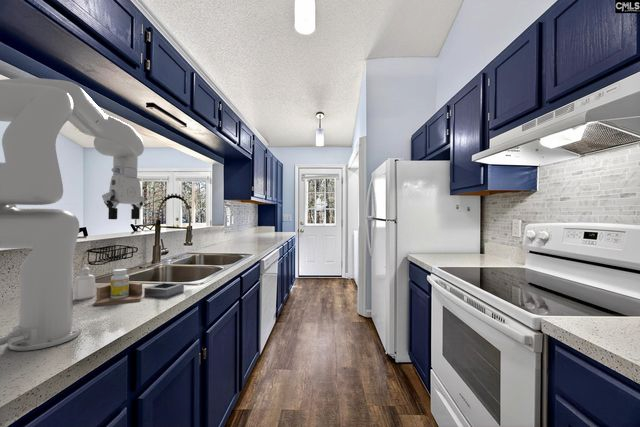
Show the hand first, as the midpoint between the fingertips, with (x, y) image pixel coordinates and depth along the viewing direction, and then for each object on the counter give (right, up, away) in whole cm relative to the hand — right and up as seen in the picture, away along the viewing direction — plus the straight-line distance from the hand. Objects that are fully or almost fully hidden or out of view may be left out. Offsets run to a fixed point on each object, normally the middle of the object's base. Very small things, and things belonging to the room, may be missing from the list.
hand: (124, 219), depth 109 cm
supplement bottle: (+2, -28, -5) cm, 28 cm away
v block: (+1, -29, -4) cm, 29 cm away
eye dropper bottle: (-12, -29, -4) cm, 31 cm away
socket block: (+13, -29, +3) cm, 32 cm away
